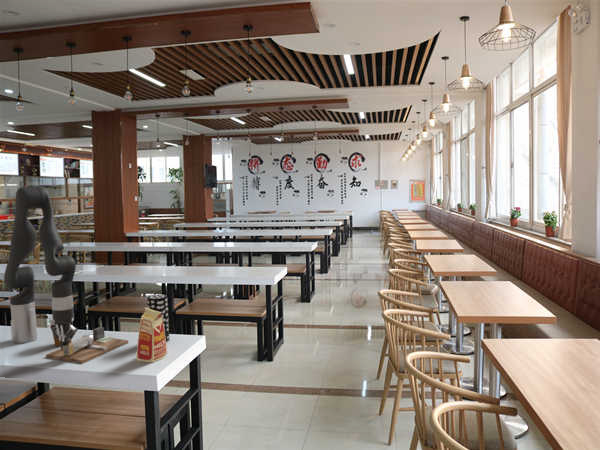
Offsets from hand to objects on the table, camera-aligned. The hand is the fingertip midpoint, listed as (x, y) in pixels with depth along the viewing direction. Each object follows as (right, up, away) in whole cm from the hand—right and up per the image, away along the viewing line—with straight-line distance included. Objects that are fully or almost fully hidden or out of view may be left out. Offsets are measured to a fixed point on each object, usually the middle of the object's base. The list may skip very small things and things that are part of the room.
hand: (64, 349), depth 179 cm
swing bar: (+4, -1, +4) cm, 6 cm away
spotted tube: (+32, -2, +18) cm, 37 cm away
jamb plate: (+5, -3, +9) cm, 11 cm away
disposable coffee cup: (-10, -3, +17) cm, 20 cm away
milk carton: (+36, -3, -1) cm, 36 cm away
